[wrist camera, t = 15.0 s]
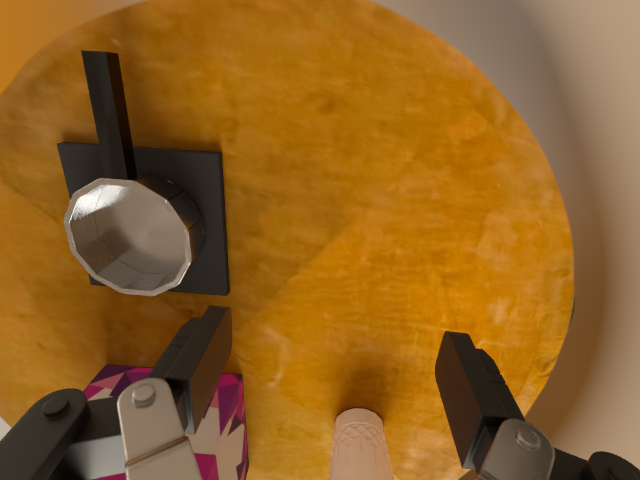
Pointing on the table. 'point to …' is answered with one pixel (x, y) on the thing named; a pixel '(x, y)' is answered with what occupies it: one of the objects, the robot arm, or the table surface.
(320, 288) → the table surface
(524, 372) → the table surface
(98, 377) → the decorative box
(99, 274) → the steel pan
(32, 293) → the table surface
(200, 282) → the trivet
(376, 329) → the table surface
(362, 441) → the white cup
